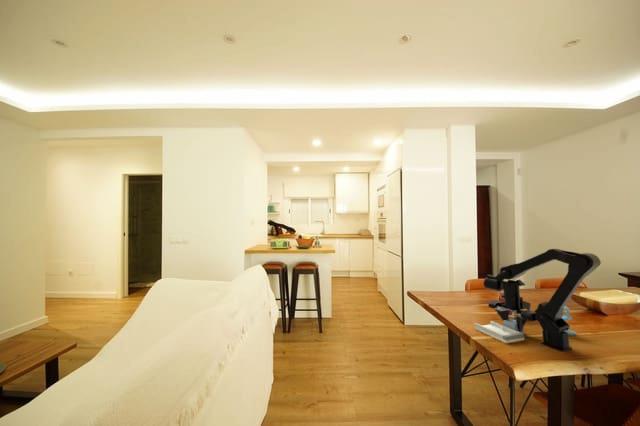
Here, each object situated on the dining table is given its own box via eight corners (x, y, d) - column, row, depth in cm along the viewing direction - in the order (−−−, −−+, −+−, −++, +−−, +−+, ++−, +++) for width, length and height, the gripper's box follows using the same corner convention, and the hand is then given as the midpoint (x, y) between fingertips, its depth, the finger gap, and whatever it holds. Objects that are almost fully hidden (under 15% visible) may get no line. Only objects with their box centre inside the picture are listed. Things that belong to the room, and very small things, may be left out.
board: (524, 340, 96) (524, 333, 96) (506, 343, 93) (505, 336, 94) (491, 326, 109) (491, 321, 110) (474, 328, 107) (474, 323, 107)
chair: (541, 328, 107) (539, 302, 108) (555, 327, 108) (553, 301, 109) (561, 336, 99) (558, 307, 100) (576, 334, 101) (574, 306, 101)
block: (524, 333, 102) (523, 323, 102) (515, 334, 101) (514, 324, 101) (512, 328, 107) (511, 318, 107) (503, 330, 105) (503, 320, 106)
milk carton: (496, 313, 126) (494, 276, 128) (506, 310, 130) (503, 274, 132) (516, 319, 118) (513, 279, 120) (525, 316, 122) (523, 277, 123)
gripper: (549, 298, 98) (551, 336, 97) (504, 287, 116) (505, 319, 115) (529, 300, 95) (532, 339, 94) (486, 289, 113) (488, 322, 112)
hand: (513, 329), depth 104 cm, fingers closed on block, 5 cm apart
